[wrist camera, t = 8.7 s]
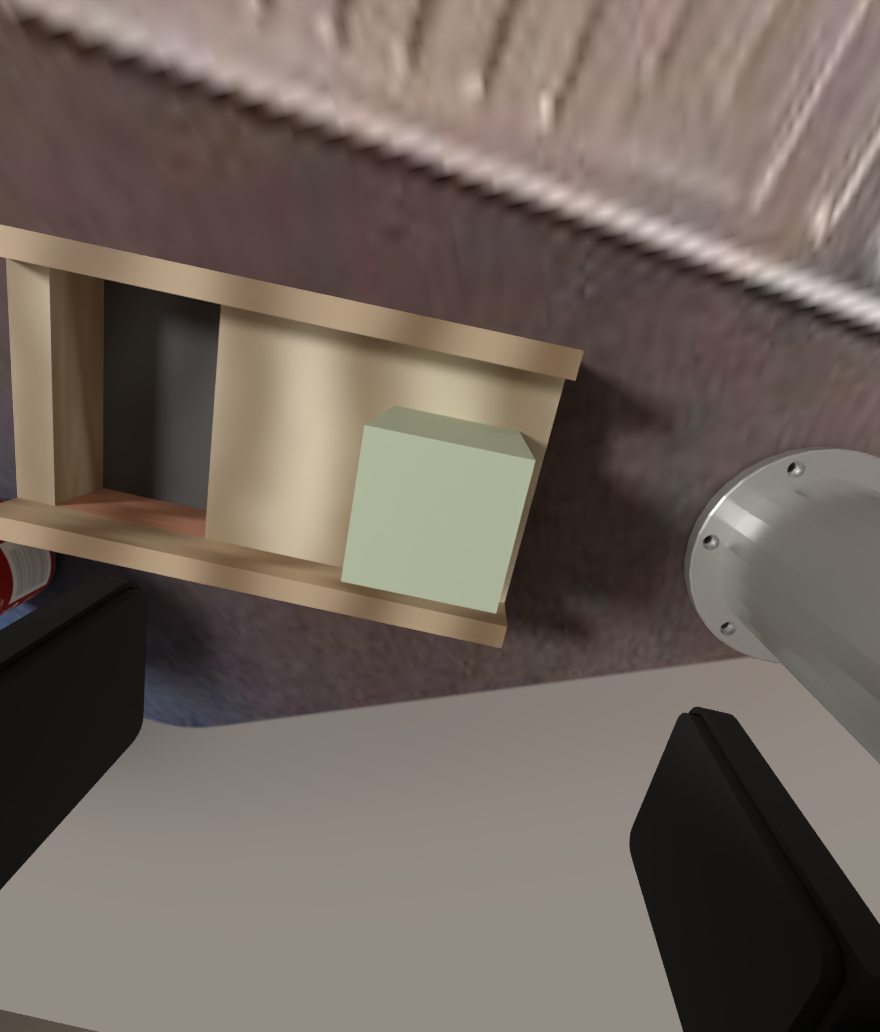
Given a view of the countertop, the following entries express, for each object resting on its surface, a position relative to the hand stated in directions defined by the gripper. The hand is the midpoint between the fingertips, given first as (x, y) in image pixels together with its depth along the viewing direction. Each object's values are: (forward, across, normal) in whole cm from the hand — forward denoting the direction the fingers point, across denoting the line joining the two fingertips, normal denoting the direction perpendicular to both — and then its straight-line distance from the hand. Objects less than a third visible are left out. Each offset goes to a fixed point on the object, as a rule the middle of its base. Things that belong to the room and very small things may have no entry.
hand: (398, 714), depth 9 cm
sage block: (+17, 0, 0) cm, 17 cm away
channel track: (+21, +9, 0) cm, 23 cm away
